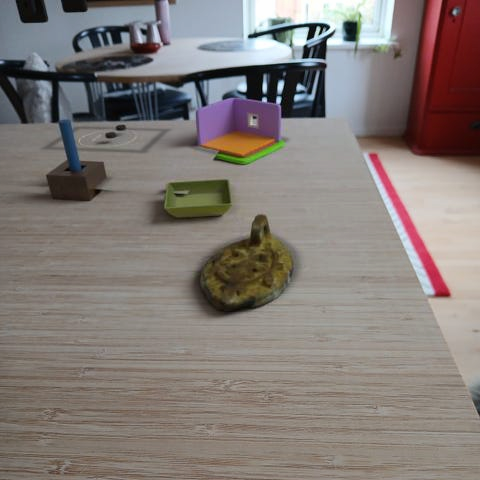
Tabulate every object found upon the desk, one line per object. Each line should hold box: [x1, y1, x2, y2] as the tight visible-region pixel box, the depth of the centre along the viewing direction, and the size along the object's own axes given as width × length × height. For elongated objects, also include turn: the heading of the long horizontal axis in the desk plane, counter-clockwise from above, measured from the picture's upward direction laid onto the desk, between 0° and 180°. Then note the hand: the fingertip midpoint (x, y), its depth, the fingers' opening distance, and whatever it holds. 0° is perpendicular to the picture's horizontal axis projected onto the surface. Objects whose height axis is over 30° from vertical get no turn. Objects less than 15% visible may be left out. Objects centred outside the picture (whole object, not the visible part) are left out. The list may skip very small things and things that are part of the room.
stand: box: [45, 159, 108, 202], centre depth 74 cm, size 6×6×4 cm
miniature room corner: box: [195, 97, 286, 165], centre depth 86 cm, size 12×12×7 cm
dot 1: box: [104, 131, 117, 140], centre depth 89 cm, size 2×2×1 cm
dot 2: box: [115, 124, 127, 132], centre depth 92 cm, size 2×2×1 cm
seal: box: [199, 213, 294, 312], centre depth 53 cm, size 9×5×15 cm
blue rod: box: [57, 119, 82, 172], centre depth 72 cm, size 2×2×10 cm
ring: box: [77, 128, 138, 149], centre depth 92 cm, size 18×12×1 cm, turn 77°
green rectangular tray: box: [163, 178, 234, 219], centre depth 68 cm, size 9×9×2 cm
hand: (56, 17), depth 61 cm, fingers open, 9 cm apart
